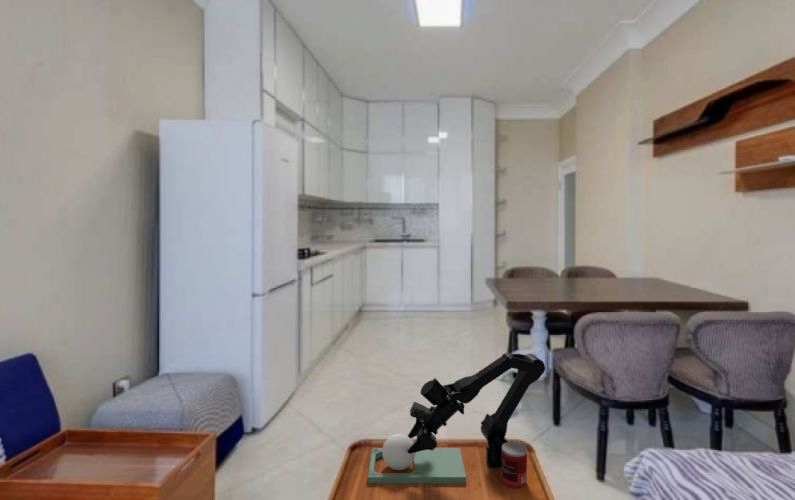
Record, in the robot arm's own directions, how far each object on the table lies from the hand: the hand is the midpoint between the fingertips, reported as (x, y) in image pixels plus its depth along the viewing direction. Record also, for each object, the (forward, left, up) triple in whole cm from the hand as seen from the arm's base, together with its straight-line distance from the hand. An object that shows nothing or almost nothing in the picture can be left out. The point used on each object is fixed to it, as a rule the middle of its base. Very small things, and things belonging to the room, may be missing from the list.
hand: (408, 445), depth 150 cm
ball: (+3, 0, -2) cm, 4 cm away
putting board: (-3, 0, -8) cm, 8 cm away
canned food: (-33, +7, -8) cm, 35 cm away
